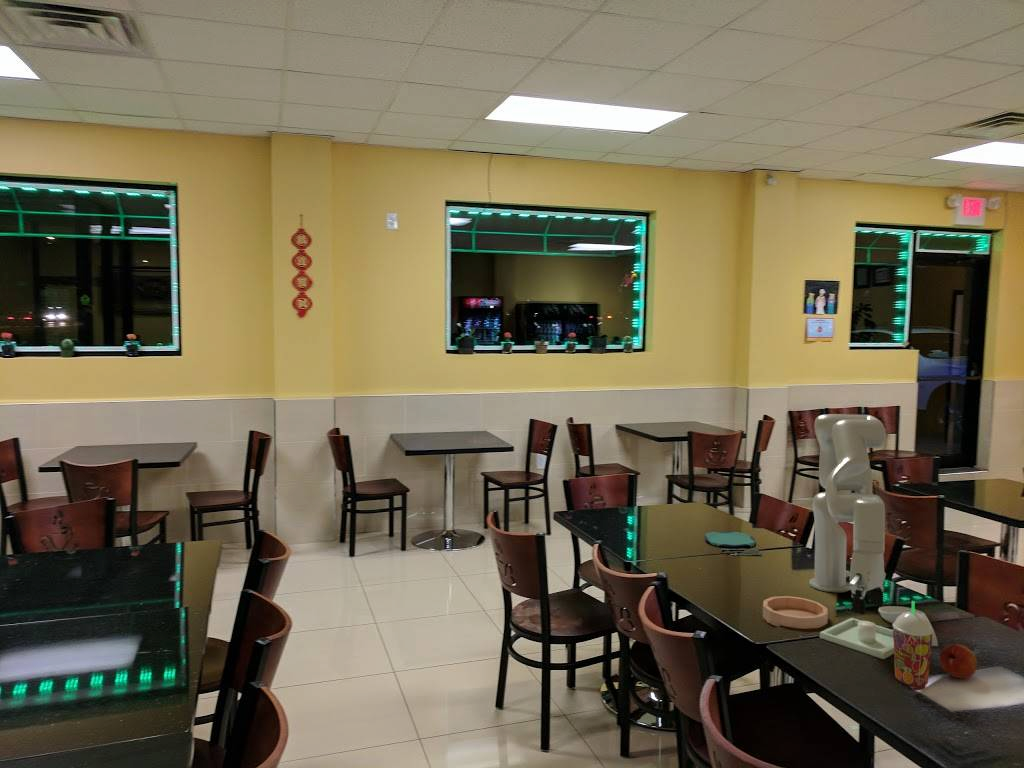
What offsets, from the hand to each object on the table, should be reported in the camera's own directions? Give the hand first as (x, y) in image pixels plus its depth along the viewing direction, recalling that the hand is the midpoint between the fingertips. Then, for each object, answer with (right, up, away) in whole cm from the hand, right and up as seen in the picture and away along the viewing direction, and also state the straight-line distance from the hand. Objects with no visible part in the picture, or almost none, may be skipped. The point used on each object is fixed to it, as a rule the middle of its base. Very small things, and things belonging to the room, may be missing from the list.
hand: (867, 609), depth 191 cm
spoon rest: (+16, -10, +9) cm, 21 cm away
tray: (0, -10, +1) cm, 10 cm away
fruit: (+12, -11, -18) cm, 25 cm away
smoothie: (-1, -11, -22) cm, 25 cm away
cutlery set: (-6, -6, +97) cm, 97 cm away
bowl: (-13, -9, +18) cm, 23 cm away
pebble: (0, -9, +1) cm, 9 cm away
